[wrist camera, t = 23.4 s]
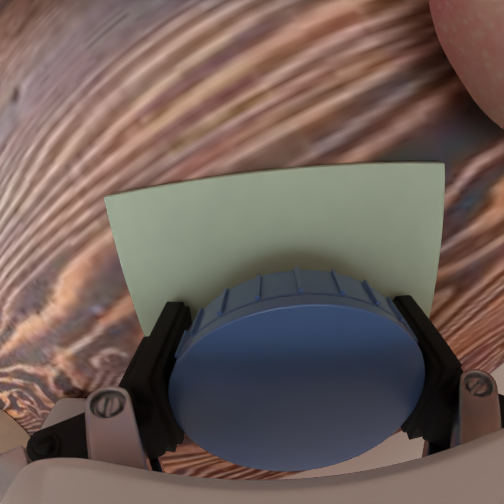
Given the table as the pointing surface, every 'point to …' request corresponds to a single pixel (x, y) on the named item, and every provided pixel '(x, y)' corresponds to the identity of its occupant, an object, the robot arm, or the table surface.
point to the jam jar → (11, 433)
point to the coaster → (280, 231)
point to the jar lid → (295, 371)
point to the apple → (475, 48)
